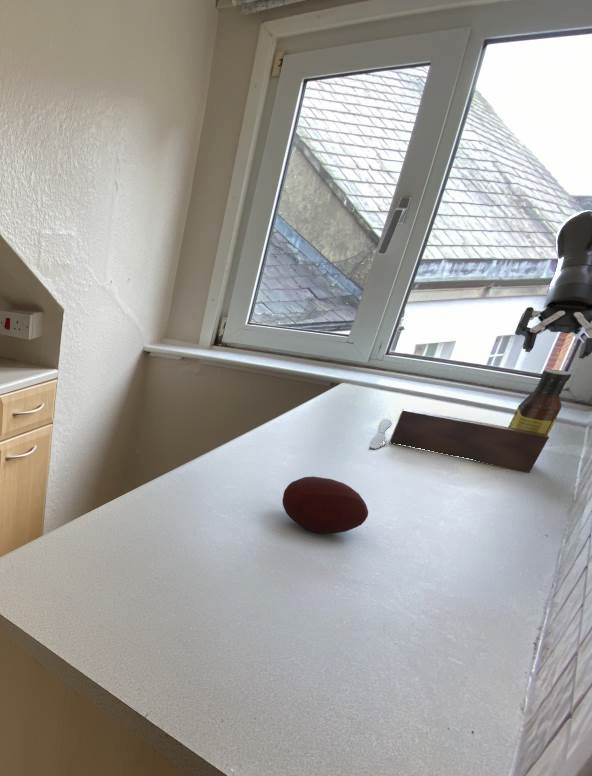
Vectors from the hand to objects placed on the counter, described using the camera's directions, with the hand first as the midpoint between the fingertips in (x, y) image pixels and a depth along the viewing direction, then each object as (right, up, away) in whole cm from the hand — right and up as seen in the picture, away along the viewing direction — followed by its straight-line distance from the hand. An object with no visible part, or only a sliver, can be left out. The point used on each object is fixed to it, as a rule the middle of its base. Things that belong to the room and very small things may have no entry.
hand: (555, 353), depth 119 cm
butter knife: (-28, -17, +13) cm, 35 cm away
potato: (-71, -36, -28) cm, 84 cm away
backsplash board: (-20, -22, +2) cm, 30 cm away
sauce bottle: (-8, -23, +1) cm, 25 cm away
